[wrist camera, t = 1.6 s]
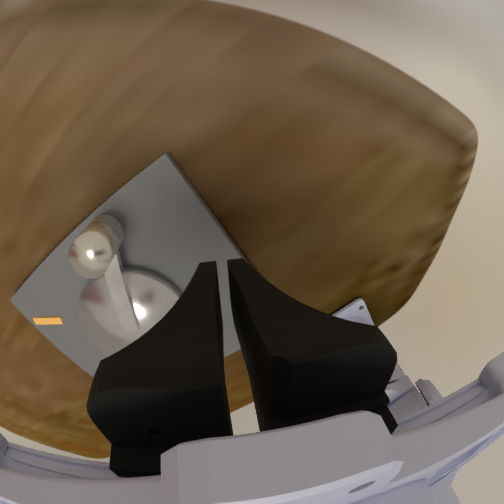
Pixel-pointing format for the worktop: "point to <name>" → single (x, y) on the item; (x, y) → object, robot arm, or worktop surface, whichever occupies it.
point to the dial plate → (134, 256)
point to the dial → (116, 289)
